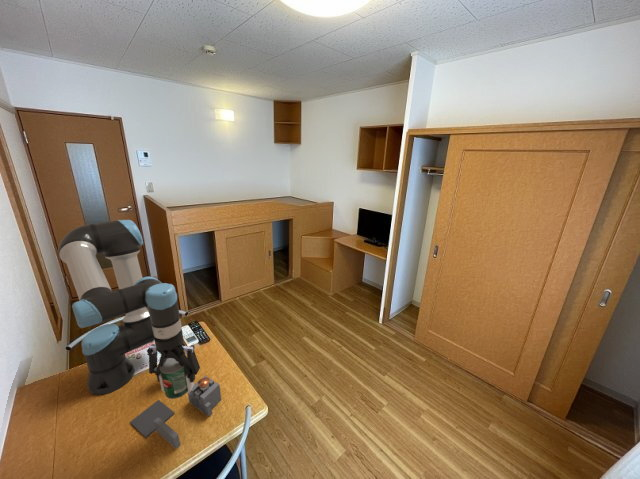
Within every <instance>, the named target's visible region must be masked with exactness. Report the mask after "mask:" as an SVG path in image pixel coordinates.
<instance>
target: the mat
mask: <svg viewBox="0 0 640 479" xmlns="http://www.w3.org/2000/svg"><path fill="white" fill-rule="evenodd" d="M174 415H176V413H175V411H173V410H172V409H171V408H170V407H168V406H167V405H166V404H165V403H164V402H162V401H161V400H159V399H157V400H156V401H155V402H154V403H152V404H151V405H150V406H148V407H147V408H146V409H145V410H144V411H142V412H140V414H138V415H137V416H136V417H134V418H133V419H132V420H130V421H129V423H130V425H131V426H132V427H134V429H136V430H137V431H138V432H139V433H140V434H141V435H142V437H144V438H145V439H147V438H149V436H151V435H152V434H153V433H154V432H156V428H155V424H154V420H155V419H157V418H158V417H159V418H160V419H161V420H162V421H163V422H164V423H166V422H167V421H168V420H169V419H170V418H171V417H173V416H174Z"/></svg>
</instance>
